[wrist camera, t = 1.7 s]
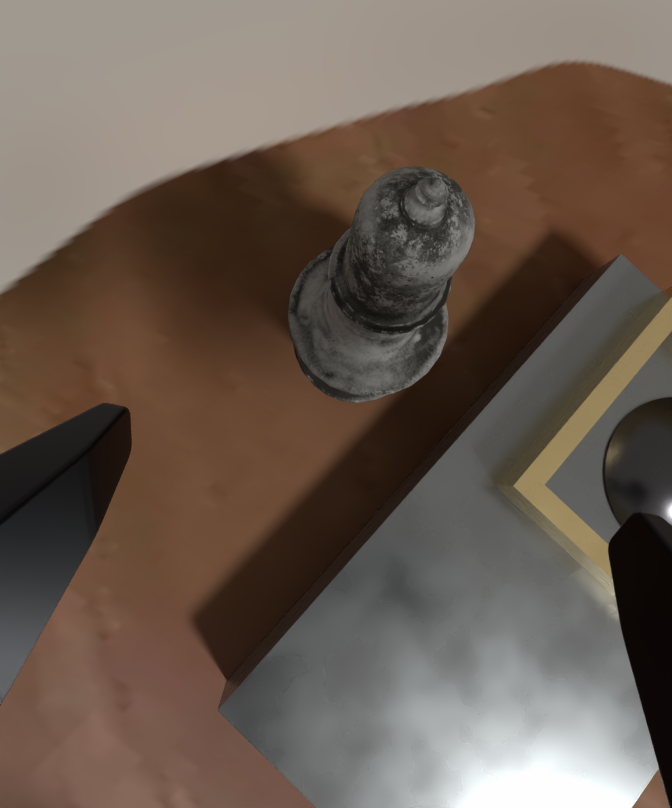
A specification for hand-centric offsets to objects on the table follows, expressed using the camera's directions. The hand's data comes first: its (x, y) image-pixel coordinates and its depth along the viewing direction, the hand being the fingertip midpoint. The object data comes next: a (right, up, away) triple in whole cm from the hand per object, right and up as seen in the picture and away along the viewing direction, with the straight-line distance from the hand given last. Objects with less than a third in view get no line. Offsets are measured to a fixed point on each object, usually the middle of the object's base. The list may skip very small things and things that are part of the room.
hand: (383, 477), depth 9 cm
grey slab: (+8, -6, +12) cm, 15 cm away
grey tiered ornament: (0, +4, +13) cm, 14 cm away
